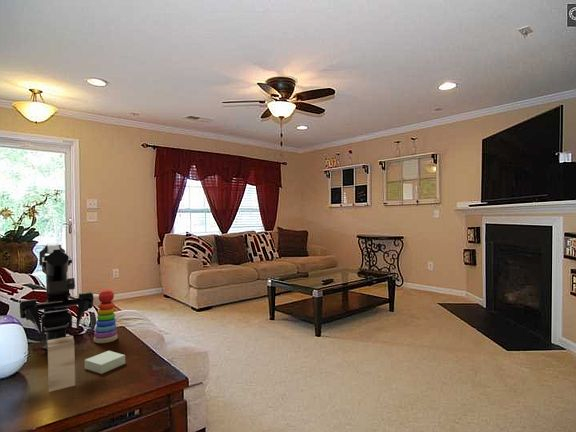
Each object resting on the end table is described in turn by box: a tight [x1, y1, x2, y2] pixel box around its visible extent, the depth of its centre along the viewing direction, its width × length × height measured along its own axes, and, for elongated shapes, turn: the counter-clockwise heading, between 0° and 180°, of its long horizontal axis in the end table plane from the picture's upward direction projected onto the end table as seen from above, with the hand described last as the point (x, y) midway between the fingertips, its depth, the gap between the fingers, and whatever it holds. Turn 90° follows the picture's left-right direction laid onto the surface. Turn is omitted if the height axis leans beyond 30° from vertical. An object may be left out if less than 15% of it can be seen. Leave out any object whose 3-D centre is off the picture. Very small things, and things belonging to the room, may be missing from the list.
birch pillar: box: [47, 335, 76, 393], centre depth 98 cm, size 6×6×12 cm
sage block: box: [84, 350, 126, 375], centre depth 110 cm, size 8×8×3 cm
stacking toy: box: [93, 289, 119, 344], centre depth 131 cm, size 8×8×19 cm
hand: (59, 329), depth 104 cm, fingers open, 9 cm apart
